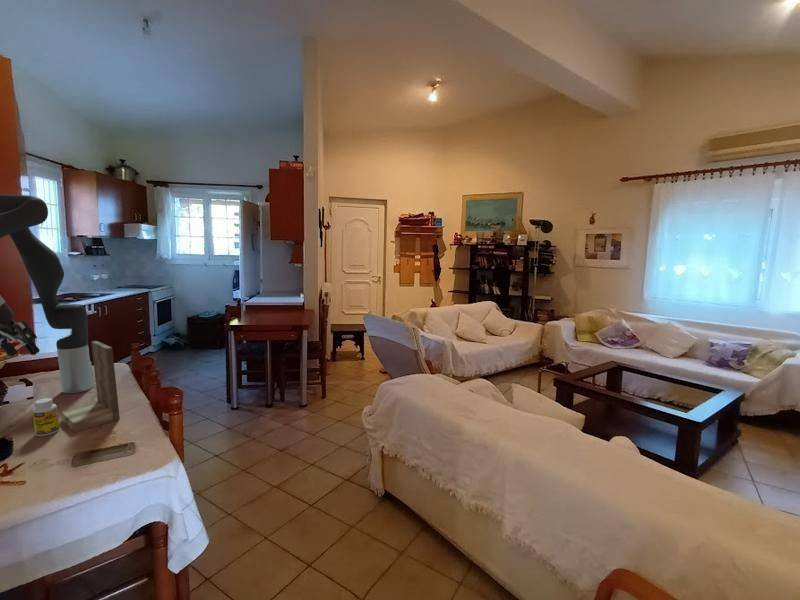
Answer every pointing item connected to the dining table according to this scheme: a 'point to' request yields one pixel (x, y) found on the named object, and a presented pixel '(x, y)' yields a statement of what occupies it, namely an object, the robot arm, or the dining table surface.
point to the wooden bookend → (106, 394)
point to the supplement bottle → (45, 417)
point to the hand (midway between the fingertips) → (24, 354)
